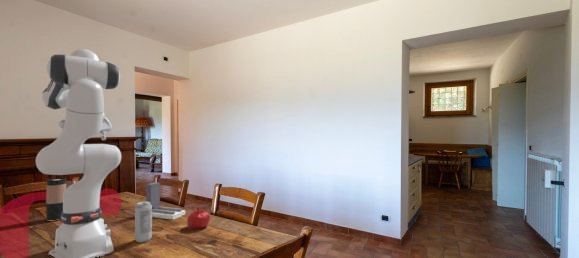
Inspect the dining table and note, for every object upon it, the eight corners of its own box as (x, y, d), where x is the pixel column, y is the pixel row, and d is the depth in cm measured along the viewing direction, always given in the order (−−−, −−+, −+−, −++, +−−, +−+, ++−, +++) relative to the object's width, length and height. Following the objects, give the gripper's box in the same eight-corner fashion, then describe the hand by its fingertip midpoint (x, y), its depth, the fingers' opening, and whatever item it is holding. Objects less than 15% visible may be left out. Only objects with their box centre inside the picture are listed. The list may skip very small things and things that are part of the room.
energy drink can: (147, 236, 114) (148, 200, 114) (154, 239, 110) (154, 202, 110) (132, 240, 109) (132, 203, 109) (138, 244, 105) (138, 205, 105)
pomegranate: (203, 231, 119) (203, 210, 119) (182, 229, 121) (182, 209, 121) (213, 223, 129) (214, 204, 129) (194, 222, 131) (194, 202, 131)
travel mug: (57, 221, 131) (57, 180, 131) (41, 221, 131) (41, 180, 131) (70, 216, 139) (70, 177, 139) (55, 216, 139) (55, 177, 139)
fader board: (185, 214, 143) (185, 208, 143) (173, 219, 135) (173, 213, 135) (153, 210, 150) (153, 204, 150) (140, 215, 141) (140, 209, 141)
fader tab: (161, 208, 146) (161, 182, 146) (152, 211, 141) (152, 184, 141) (153, 207, 148) (153, 182, 148) (144, 210, 142) (144, 184, 142)
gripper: (59, 117, 126) (70, 142, 124) (107, 112, 143) (117, 134, 141) (56, 123, 130) (66, 148, 128) (103, 118, 147) (113, 140, 145)
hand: (93, 141), depth 135 cm, fingers open, 8 cm apart
